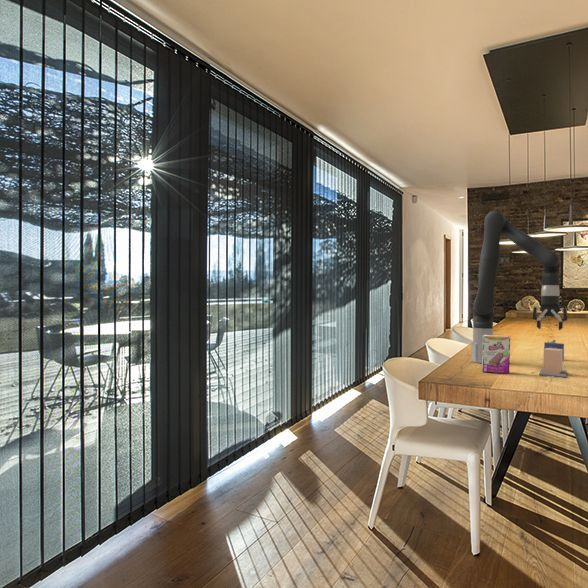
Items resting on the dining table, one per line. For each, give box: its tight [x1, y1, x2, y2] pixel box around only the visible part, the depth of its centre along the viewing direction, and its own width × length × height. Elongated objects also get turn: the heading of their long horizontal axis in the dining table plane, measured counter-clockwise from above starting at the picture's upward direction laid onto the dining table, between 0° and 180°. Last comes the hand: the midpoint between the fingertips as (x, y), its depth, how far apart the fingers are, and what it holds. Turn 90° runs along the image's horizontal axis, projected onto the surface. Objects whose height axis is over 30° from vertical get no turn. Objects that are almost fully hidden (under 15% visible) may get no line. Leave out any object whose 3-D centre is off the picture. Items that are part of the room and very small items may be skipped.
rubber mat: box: [538, 367, 567, 379], centre depth 210 cm, size 16×10×1 cm, turn 150°
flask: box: [543, 339, 565, 360], centre depth 249 cm, size 9×3×11 cm, turn 50°
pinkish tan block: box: [542, 348, 564, 374], centre depth 210 cm, size 6×6×10 cm
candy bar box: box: [481, 334, 511, 375], centre depth 212 cm, size 11×5×16 cm, turn 71°
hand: (549, 329), depth 225 cm, fingers open, 8 cm apart
